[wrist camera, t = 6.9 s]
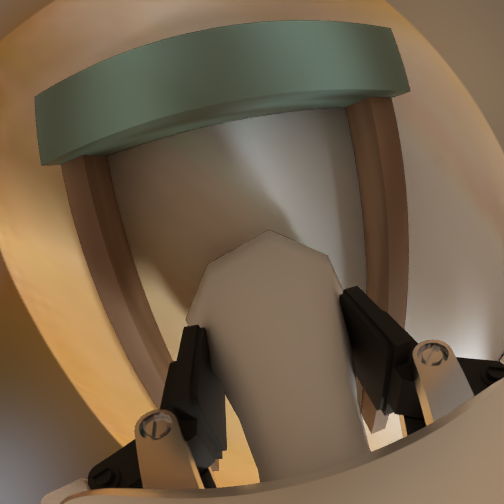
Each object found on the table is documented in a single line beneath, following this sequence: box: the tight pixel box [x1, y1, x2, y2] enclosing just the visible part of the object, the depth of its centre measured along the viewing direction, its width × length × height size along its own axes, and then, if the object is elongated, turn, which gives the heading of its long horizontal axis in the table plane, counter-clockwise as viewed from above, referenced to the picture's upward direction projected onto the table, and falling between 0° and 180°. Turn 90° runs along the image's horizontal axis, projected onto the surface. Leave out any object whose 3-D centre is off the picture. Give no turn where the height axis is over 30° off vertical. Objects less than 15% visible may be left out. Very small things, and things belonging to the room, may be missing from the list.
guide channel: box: [35, 20, 410, 471], centre depth 13 cm, size 14×25×4 cm, turn 11°
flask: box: [186, 230, 371, 483], centre depth 8 cm, size 7×7×10 cm
